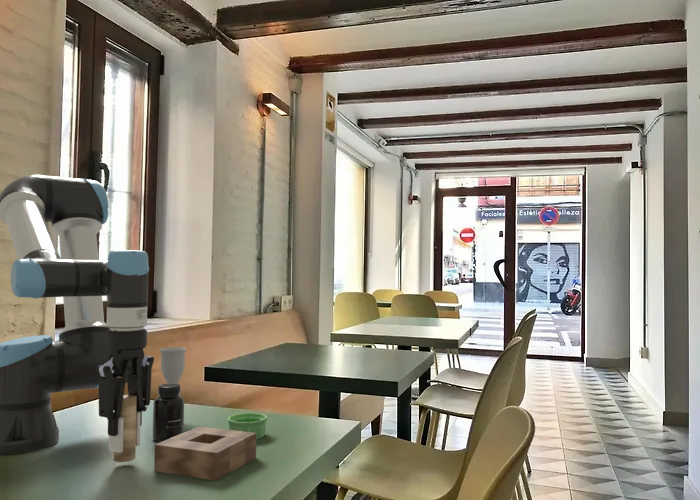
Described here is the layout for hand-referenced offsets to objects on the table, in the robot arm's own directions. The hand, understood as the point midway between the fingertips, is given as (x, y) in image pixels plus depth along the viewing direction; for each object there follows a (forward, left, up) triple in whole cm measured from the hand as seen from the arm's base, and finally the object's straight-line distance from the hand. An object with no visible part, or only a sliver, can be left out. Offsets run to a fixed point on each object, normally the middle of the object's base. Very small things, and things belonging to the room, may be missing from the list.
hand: (124, 447), depth 114 cm
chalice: (-15, +33, -4) cm, 36 cm away
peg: (0, 0, -2) cm, 2 cm away
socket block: (+14, +7, -4) cm, 16 cm away
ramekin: (+11, +27, -4) cm, 29 cm away
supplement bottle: (-5, +19, -4) cm, 20 cm away
